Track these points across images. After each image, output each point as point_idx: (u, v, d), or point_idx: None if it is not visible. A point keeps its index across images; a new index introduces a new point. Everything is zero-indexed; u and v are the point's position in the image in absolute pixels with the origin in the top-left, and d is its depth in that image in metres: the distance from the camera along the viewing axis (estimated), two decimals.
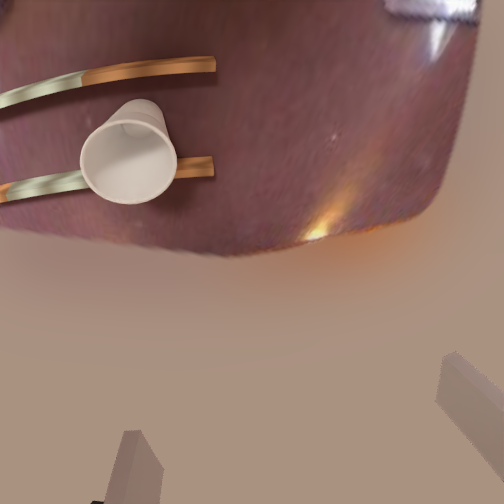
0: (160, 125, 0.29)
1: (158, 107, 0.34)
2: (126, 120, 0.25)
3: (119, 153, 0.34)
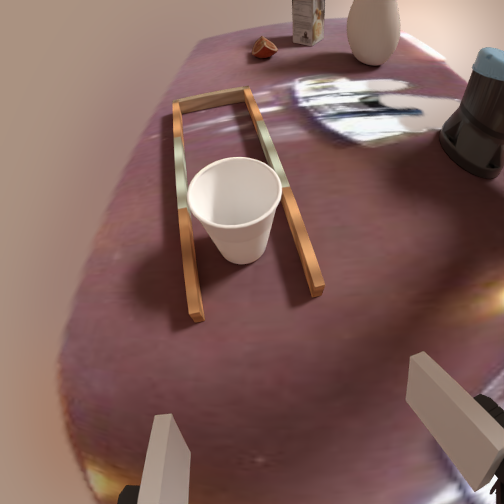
0: (267, 225, 0.33)
1: (260, 255, 0.40)
2: (280, 184, 0.32)
3: (216, 217, 0.40)
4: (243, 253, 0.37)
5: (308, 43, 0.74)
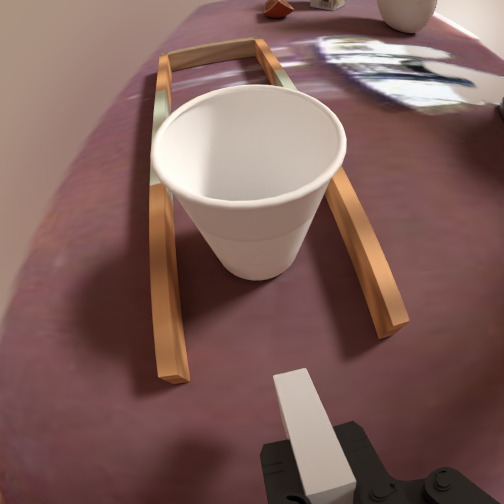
0: (315, 206, 0.16)
1: (289, 265, 0.22)
2: (341, 126, 0.15)
3: (212, 197, 0.22)
4: (262, 262, 0.19)
5: (328, 7, 0.56)
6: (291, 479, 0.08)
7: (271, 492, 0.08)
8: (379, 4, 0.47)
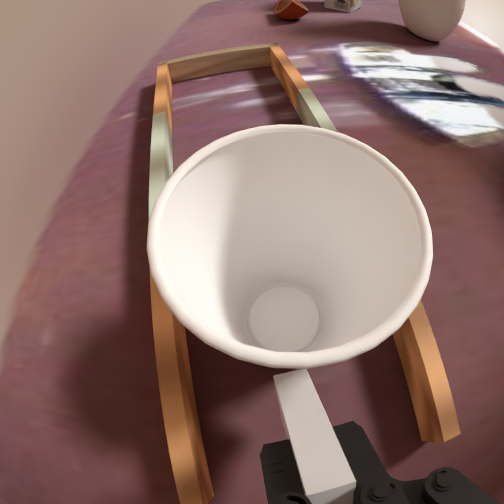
0: (377, 321, 0.11)
1: None
2: (424, 210, 0.10)
3: (232, 265, 0.18)
4: None
5: (345, 9, 0.50)
6: (291, 479, 0.08)
7: (271, 492, 0.08)
8: (402, 8, 0.41)
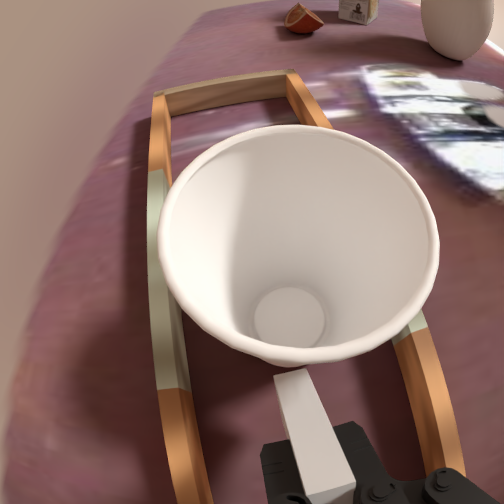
0: (379, 326, 0.11)
1: None
2: (434, 219, 0.10)
3: (242, 261, 0.18)
4: None
5: (361, 20, 0.47)
6: (291, 479, 0.08)
7: (271, 492, 0.08)
8: (425, 23, 0.37)
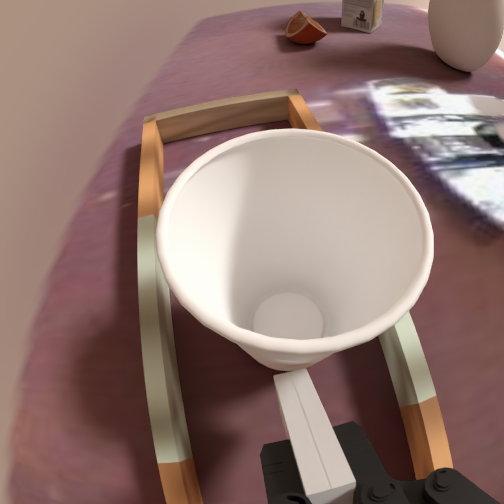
0: None
1: None
2: (427, 213, 0.10)
3: (239, 266, 0.18)
4: (294, 366, 0.14)
5: (365, 28, 0.45)
6: (291, 479, 0.08)
7: (271, 492, 0.08)
8: (433, 32, 0.36)
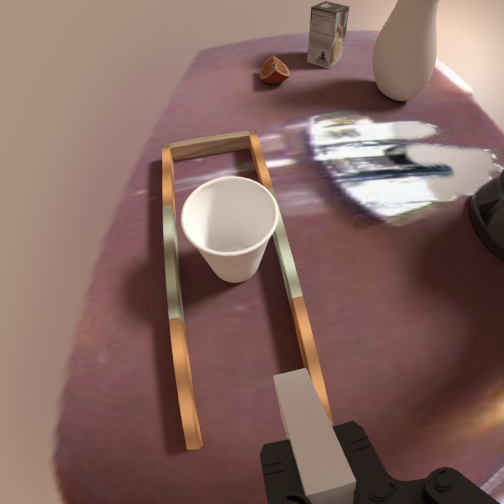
0: (258, 253, 0.33)
1: (250, 276, 0.39)
2: (277, 214, 0.32)
3: (212, 232, 0.39)
4: (232, 274, 0.36)
5: (325, 65, 0.65)
6: (291, 479, 0.08)
7: (271, 492, 0.08)
8: (374, 71, 0.57)
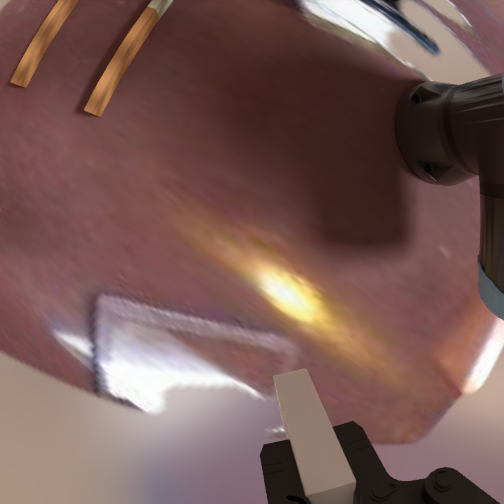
0: None
1: None
2: None
3: None
4: None
5: None
6: (291, 479, 0.08)
7: (271, 492, 0.08)
8: None
